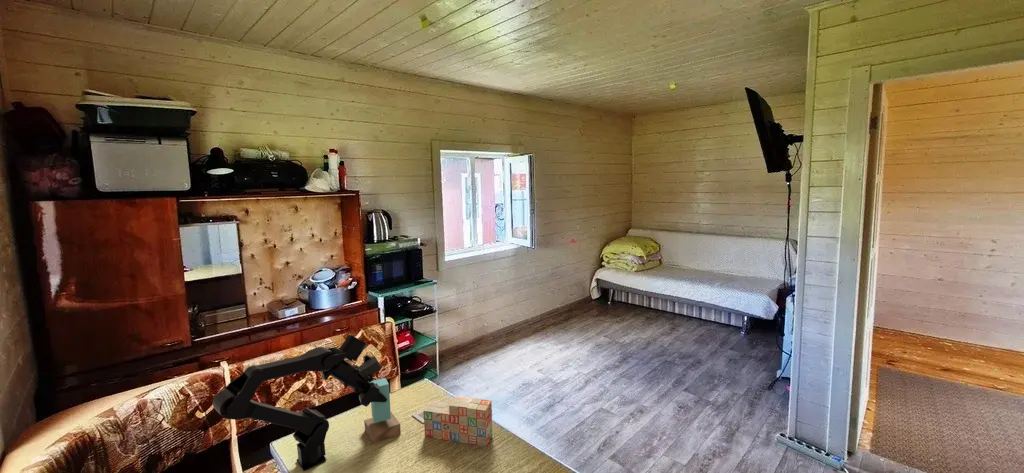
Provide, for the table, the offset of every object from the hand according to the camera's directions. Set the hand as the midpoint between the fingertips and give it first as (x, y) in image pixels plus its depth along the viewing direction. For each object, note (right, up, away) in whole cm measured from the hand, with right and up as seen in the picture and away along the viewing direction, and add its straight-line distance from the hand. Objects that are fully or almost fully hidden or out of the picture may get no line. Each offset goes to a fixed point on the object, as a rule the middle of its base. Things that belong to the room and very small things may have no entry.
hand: (384, 397), depth 140 cm
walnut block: (-1, -12, +1) cm, 12 cm away
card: (+13, -10, +11) cm, 20 cm away
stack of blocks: (+25, -12, -2) cm, 28 cm away
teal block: (-1, -7, 0) cm, 7 cm away
